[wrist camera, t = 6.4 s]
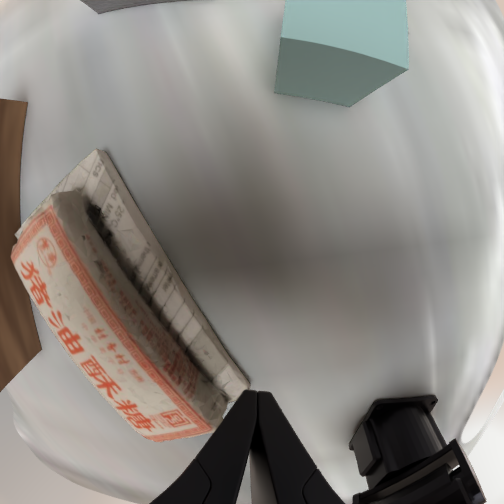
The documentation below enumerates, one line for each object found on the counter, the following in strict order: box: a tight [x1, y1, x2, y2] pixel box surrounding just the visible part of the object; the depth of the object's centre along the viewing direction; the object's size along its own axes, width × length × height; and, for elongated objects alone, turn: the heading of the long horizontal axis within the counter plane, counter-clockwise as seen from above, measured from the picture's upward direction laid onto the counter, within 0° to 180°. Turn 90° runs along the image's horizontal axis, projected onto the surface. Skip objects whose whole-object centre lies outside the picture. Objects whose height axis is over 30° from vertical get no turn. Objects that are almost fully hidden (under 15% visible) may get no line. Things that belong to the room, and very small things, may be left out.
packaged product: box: [11, 149, 250, 442], centre depth 15 cm, size 18×5×10 cm
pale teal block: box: [274, 0, 409, 107], centre depth 9 cm, size 4×5×7 cm
